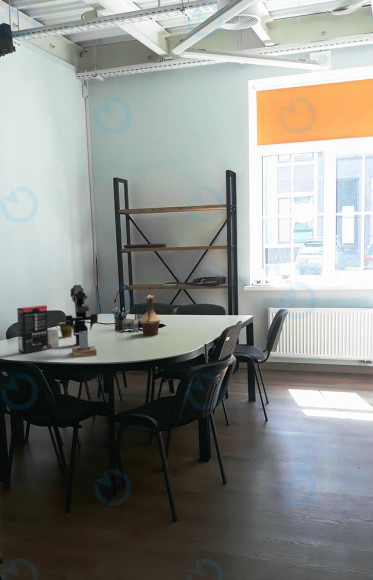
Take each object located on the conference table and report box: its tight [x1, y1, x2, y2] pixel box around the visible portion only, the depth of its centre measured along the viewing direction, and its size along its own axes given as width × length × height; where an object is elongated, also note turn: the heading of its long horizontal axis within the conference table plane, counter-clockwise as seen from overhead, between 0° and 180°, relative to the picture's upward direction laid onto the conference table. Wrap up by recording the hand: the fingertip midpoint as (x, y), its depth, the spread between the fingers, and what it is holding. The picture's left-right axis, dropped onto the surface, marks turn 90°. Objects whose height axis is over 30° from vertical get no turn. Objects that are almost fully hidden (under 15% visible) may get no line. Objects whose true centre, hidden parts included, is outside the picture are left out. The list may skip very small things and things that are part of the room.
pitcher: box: [137, 294, 163, 336], centre depth 352 cm, size 18×17×28 cm
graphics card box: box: [16, 304, 49, 354], centre depth 301 cm, size 17×7×27 cm, turn 141°
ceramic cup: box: [55, 321, 73, 338], centre depth 352 cm, size 13×10×10 cm
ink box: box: [47, 327, 60, 349], centre depth 313 cm, size 9×5×12 cm, turn 107°
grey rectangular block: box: [79, 331, 89, 350], centre depth 289 cm, size 4×4×13 cm
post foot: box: [71, 345, 98, 358], centre depth 289 cm, size 13×13×3 cm
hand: (82, 330), depth 291 cm, fingers open, 9 cm apart
